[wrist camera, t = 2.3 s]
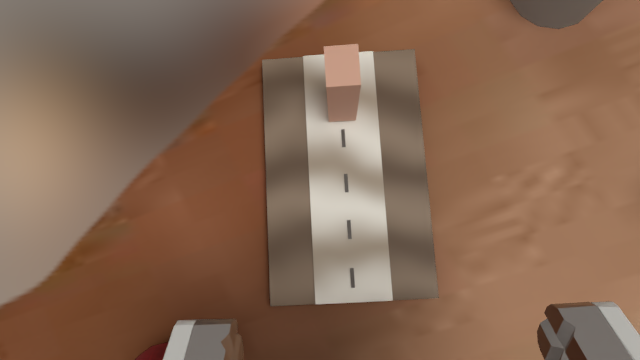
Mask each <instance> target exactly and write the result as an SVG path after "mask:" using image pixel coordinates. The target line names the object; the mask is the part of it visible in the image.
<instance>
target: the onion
mask: <svg viewBox="0 0 640 360" xmlns="http://www.w3.org/2000/svg"><path fill="white" fill-rule="evenodd" d="M167 345H168V342H167V343H163V344H159V345H155V346H151V347H150V348H148V349H147V350H146V351H144V352H143V353H142V354H140V355H139V356H138V357H137V358H136V359H135V360H163V357H164V354H165V351H166V348H167Z"/></svg>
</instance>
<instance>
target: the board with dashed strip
mask: <svg viewBox="0 0 640 360" xmlns="http://www.w3.org/2000/svg"><path fill="white" fill-rule="evenodd" d="M359 63H360V77H361V89H360V96H359V103H358V110H357V117H356V120H351V121H336V122H329V119H328V105H327V91H326V76H325V59H324V55H311V56H303V57H297V58H283V59H269V60H262V69H263V99H264V129H265V160H266V190H267V220H268V251H269V281H270V306H288V305H308V304H335V303H355V302H375V301H393V300H409V299H429V298H439V295H438V285H437V275H436V265H435V254H434V244H433V234H432V224H431V213H430V203H429V193H428V183H427V172H426V162H425V152H424V142H423V131H422V121H421V111H420V101H419V90H418V80H417V70H416V59H415V49H411V50H396V51H382V52H373V51H368V52H359Z"/></svg>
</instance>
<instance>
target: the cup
mask: <svg viewBox="0 0 640 360" xmlns="http://www.w3.org/2000/svg"><path fill="white" fill-rule="evenodd" d="M510 1H511V3H512V4H513V5H514V7H515V8H516V10H517V11H518V12H519V14H520V15H521V16H522V17H523V18H525V19H527V20H529V21H530V22H532V23H534V24H535V25H537V26H540V27H548V28H556V29H560V28H564V27H567V26H571V25H574V24H577V23H579V22H580V21H581V20H582V19H583V18H584V17H585V16H586V15H588V14H589V13H590V12H591V11H592V10H593V9H594V8H595V7H596V6H597V5H598V4H600V3H601V2H602V1H603V0H510Z"/></svg>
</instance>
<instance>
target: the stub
mask: <svg viewBox="0 0 640 360" xmlns="http://www.w3.org/2000/svg"><path fill="white" fill-rule="evenodd" d="M324 59H325V76H326V91H327V105H328V119H329V122H336V121H351V120H356V117H357V110H358V103H359V96H360V89H361V77H360V63H359V49H358V44H352V45H338V46H324Z"/></svg>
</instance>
